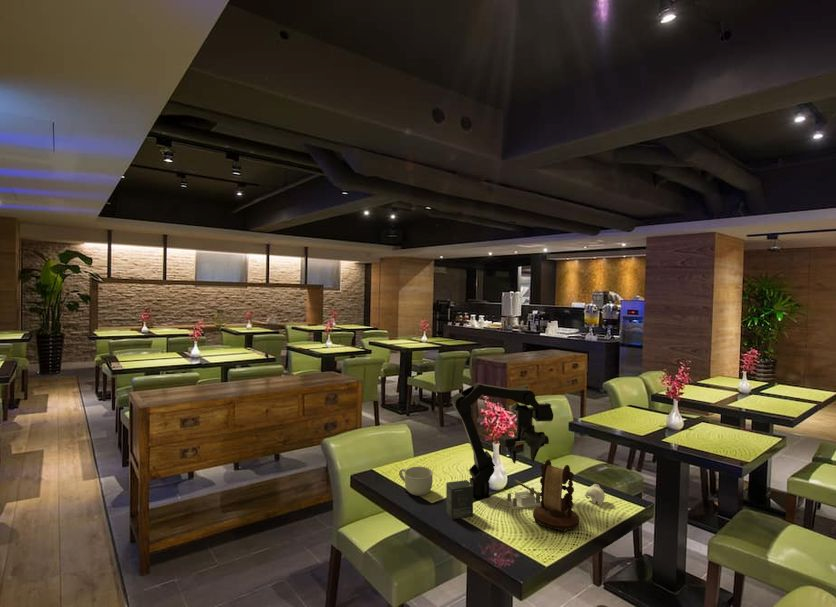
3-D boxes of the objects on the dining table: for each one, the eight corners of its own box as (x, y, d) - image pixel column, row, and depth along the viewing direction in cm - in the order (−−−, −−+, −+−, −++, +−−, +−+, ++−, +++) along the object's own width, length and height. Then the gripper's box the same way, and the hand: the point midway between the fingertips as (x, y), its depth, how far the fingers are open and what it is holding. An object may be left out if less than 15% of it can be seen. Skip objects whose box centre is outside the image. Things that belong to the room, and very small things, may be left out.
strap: (517, 484, 160) (519, 481, 160) (513, 481, 163) (515, 478, 163) (537, 495, 162) (538, 493, 163) (533, 492, 165) (534, 490, 165)
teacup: (438, 492, 171) (438, 471, 171) (419, 501, 163) (419, 479, 163) (411, 481, 180) (411, 462, 180) (392, 490, 172) (392, 469, 172)
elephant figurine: (586, 496, 169) (586, 480, 169) (608, 501, 165) (609, 485, 165) (582, 503, 163) (582, 487, 163) (606, 508, 159) (606, 492, 159)
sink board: (514, 509, 157) (514, 497, 157) (504, 501, 164) (504, 489, 164) (543, 505, 161) (544, 493, 161) (533, 497, 168) (533, 486, 168)
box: (466, 509, 157) (466, 479, 157) (473, 517, 152) (473, 485, 152) (445, 512, 155) (446, 481, 155) (451, 520, 149) (452, 488, 149)
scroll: (524, 522, 148) (525, 462, 148) (545, 508, 159) (546, 451, 159) (567, 539, 138) (568, 474, 138) (586, 522, 149) (587, 462, 149)
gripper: (514, 429, 160) (512, 472, 160) (558, 425, 166) (557, 467, 166) (498, 420, 171) (497, 461, 171) (541, 418, 177) (539, 457, 177)
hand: (523, 462), depth 171 cm, fingers open, 8 cm apart
